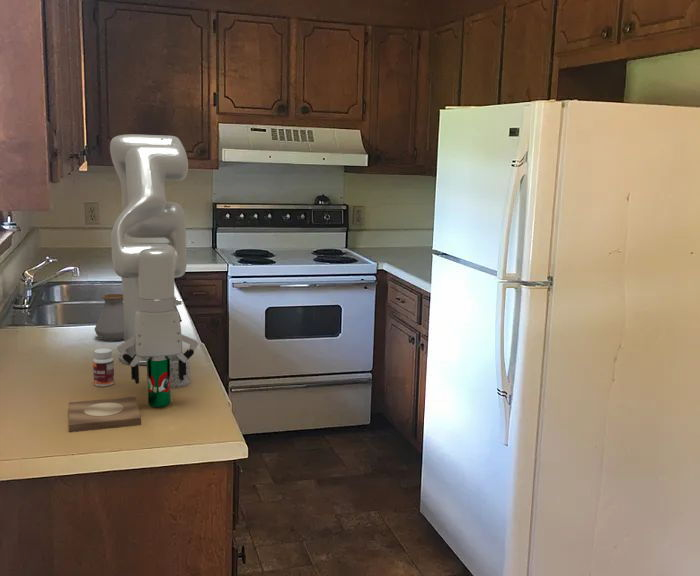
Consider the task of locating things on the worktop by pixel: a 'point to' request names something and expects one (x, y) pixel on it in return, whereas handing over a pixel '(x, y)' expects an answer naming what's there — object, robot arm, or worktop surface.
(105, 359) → the pill bottle
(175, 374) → the mug
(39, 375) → the worktop surface
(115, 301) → the coffee pot
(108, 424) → the board
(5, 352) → the worktop surface
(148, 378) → the soda can
